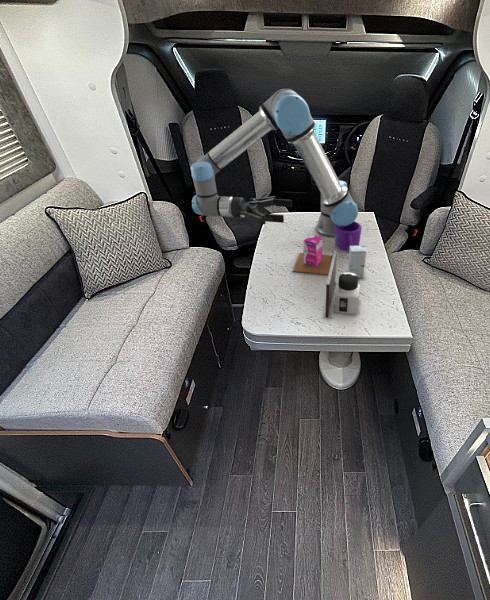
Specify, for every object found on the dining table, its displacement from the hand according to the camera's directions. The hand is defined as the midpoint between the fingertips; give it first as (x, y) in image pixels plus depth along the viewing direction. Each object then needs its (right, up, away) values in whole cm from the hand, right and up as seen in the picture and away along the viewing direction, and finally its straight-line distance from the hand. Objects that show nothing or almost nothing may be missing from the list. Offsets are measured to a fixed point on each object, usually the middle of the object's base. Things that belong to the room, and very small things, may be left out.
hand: (287, 210), depth 128 cm
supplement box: (+9, -18, +13) cm, 24 cm away
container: (+21, -36, -8) cm, 43 cm away
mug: (+24, -11, +23) cm, 35 cm away
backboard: (+16, -33, -5) cm, 37 cm away
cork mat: (+9, -19, +13) cm, 25 cm away
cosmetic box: (+26, -24, +8) cm, 36 cm away
